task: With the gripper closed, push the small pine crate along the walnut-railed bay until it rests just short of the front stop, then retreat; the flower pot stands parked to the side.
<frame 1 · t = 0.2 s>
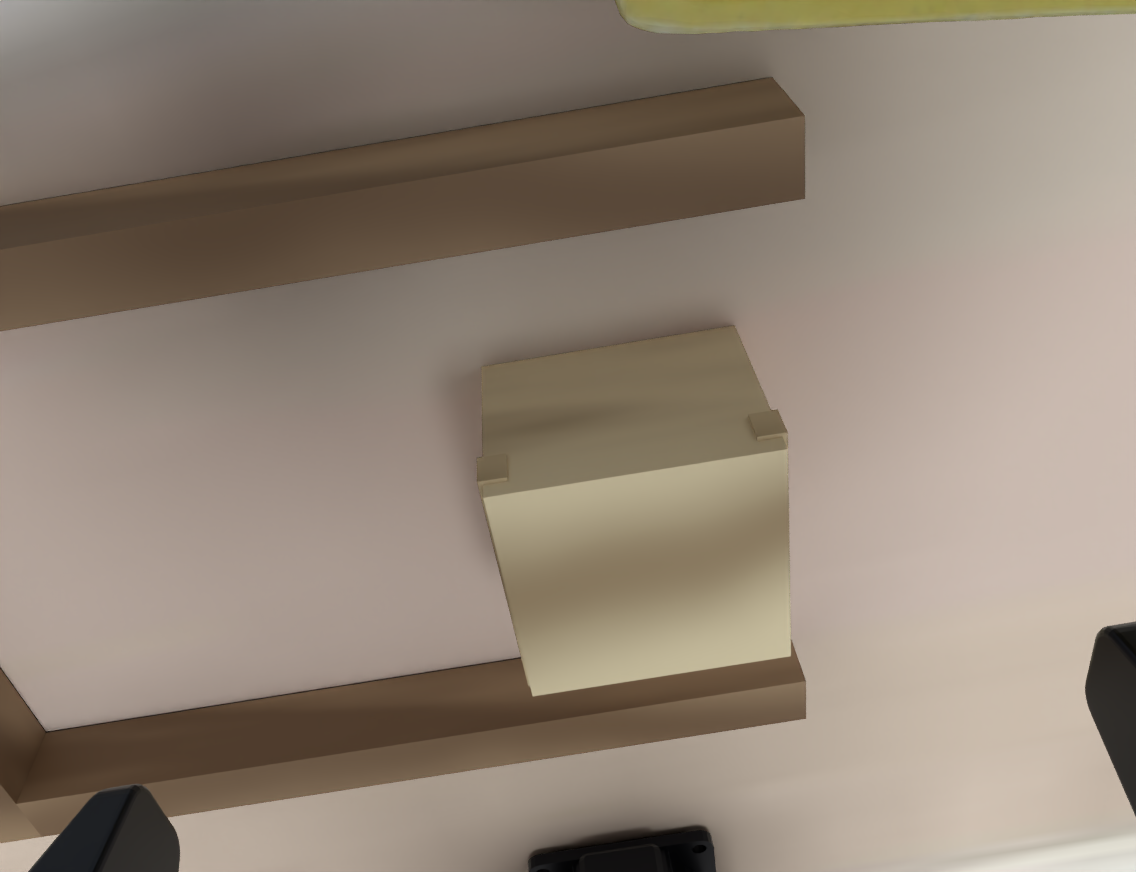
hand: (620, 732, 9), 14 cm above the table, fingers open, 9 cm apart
crate: (621, 444, 25), on the table
bay: (348, 492, 25), on the table
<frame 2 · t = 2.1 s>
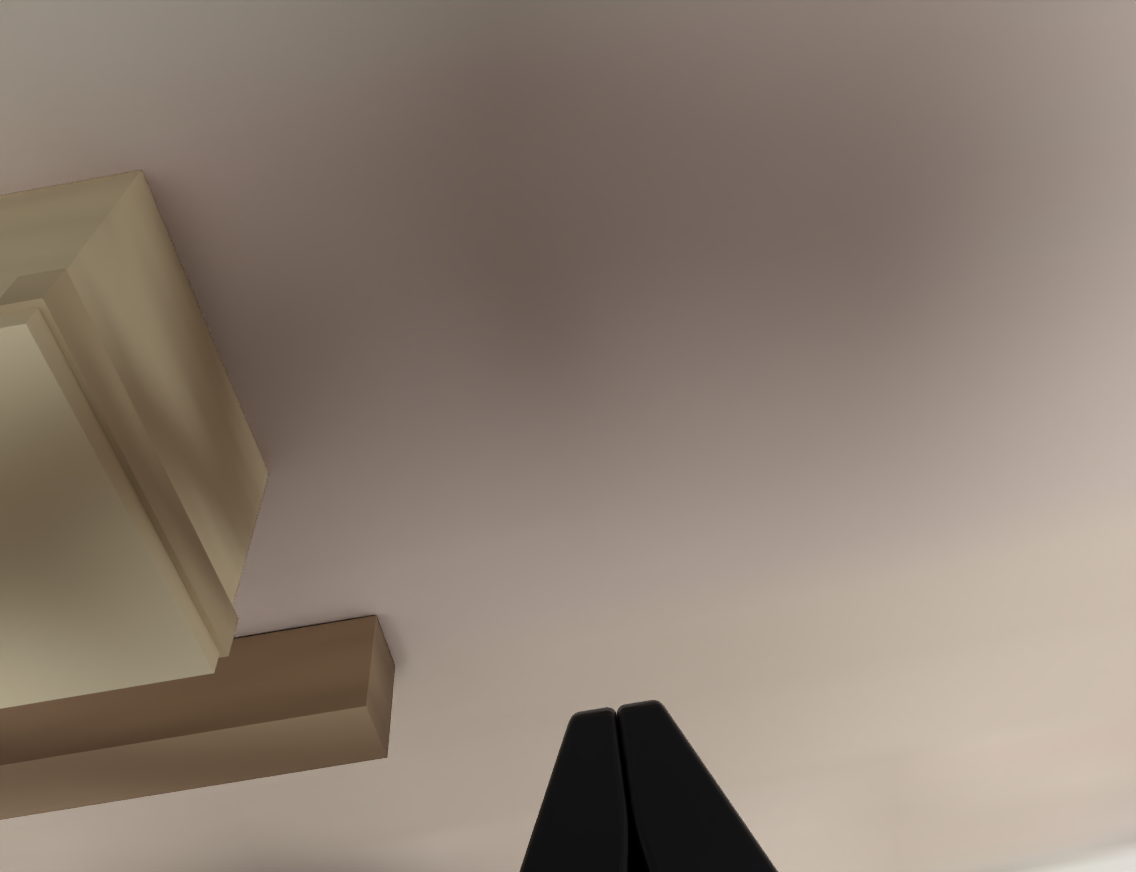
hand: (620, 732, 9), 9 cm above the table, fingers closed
crate: (43, 363, 17), on the table
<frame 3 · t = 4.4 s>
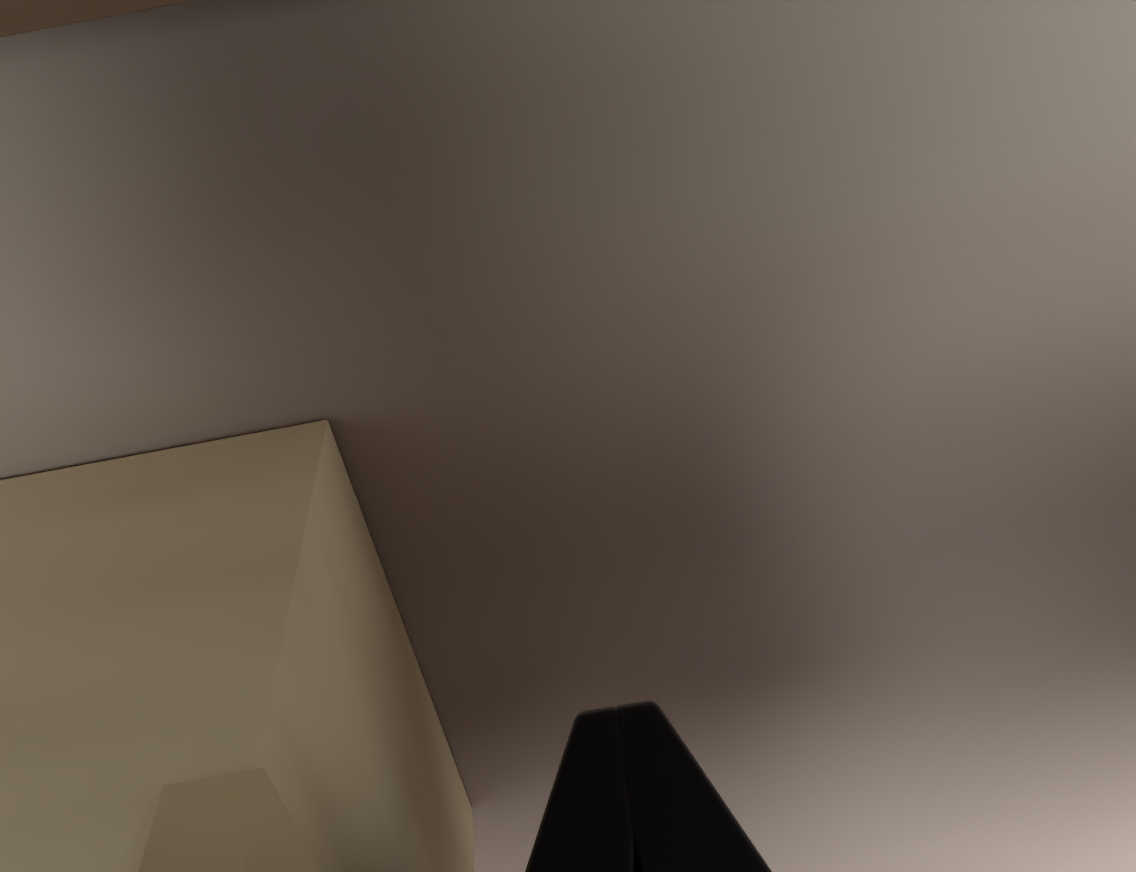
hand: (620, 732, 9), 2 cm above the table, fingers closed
crate: (139, 695, 11), on the table, touching gripper
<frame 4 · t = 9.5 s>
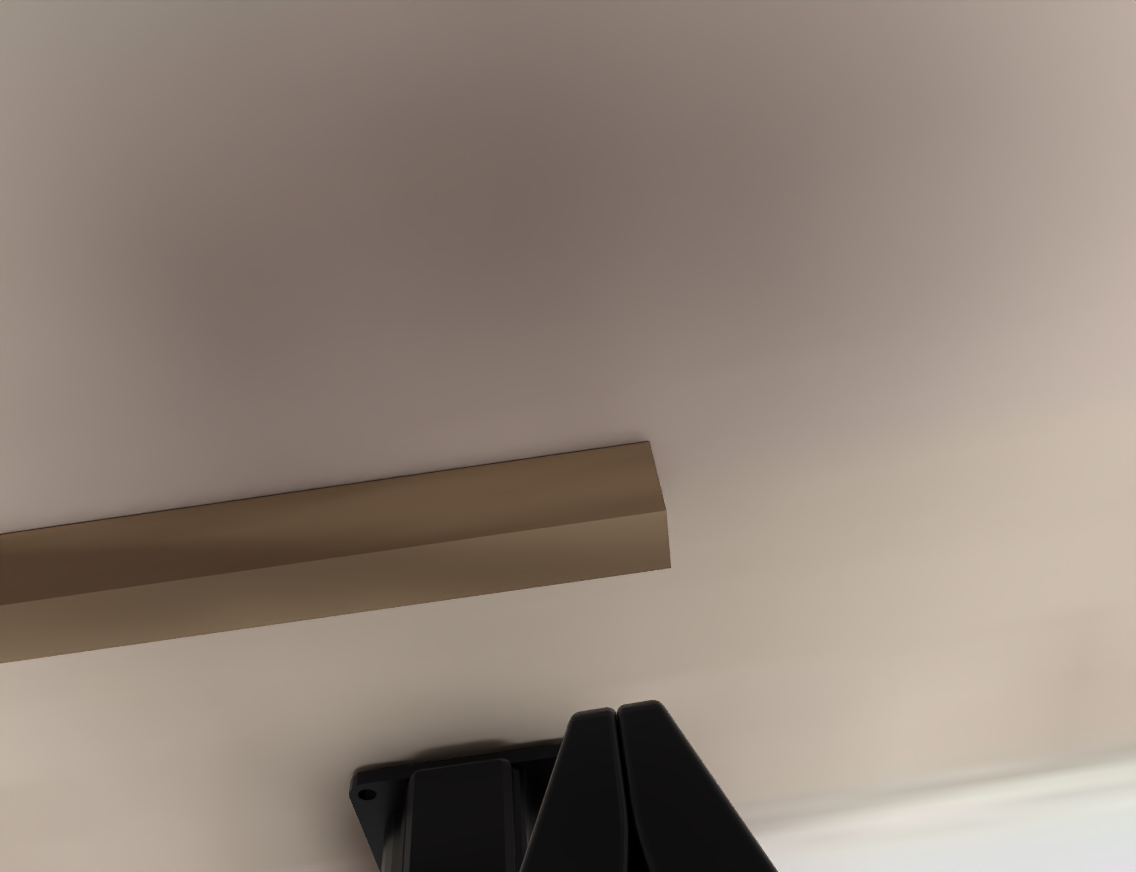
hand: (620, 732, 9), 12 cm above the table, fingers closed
bay: (23, 219, 18), on the table
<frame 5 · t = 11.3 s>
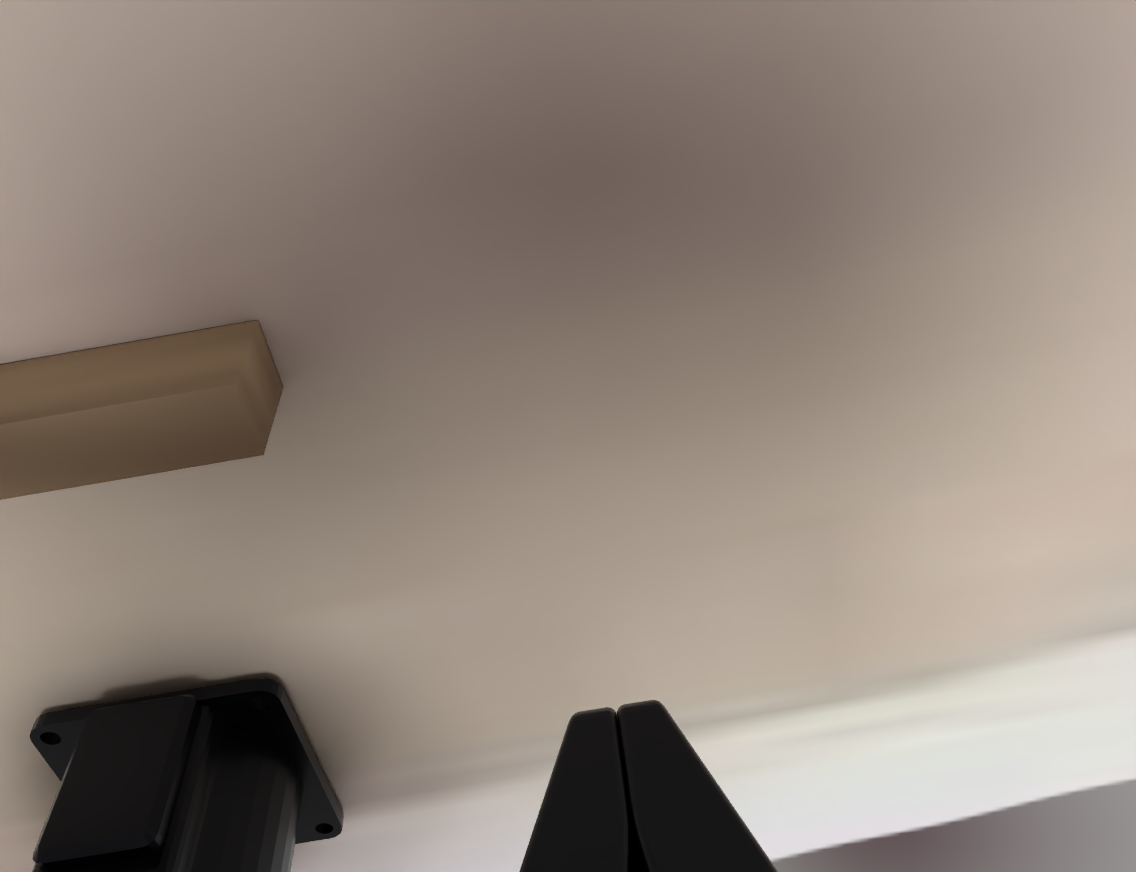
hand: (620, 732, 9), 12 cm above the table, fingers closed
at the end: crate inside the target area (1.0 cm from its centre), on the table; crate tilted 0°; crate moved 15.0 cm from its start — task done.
